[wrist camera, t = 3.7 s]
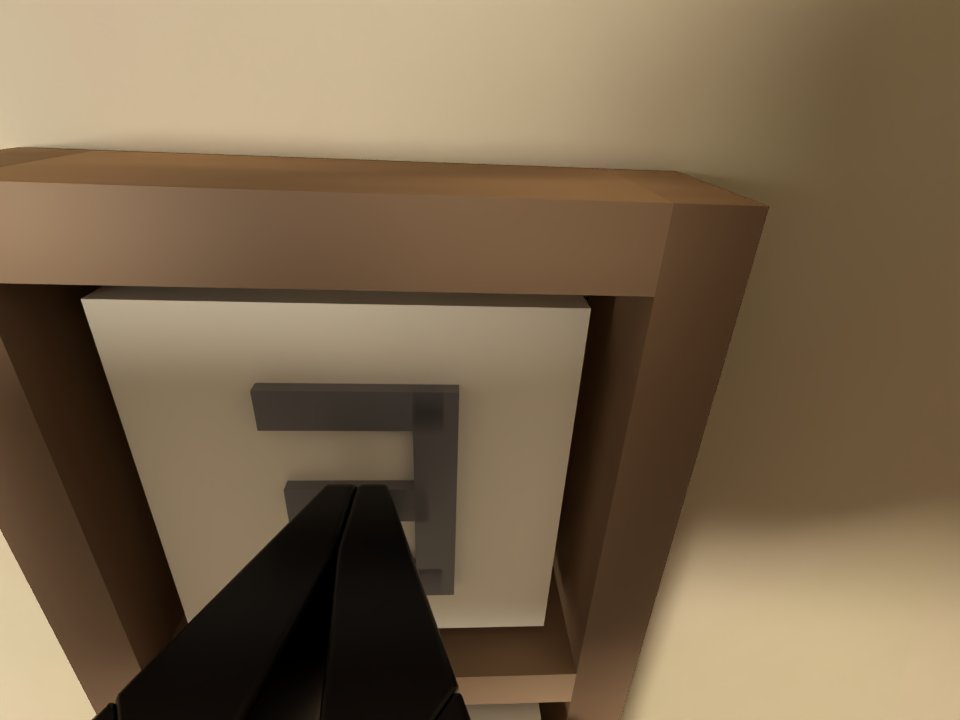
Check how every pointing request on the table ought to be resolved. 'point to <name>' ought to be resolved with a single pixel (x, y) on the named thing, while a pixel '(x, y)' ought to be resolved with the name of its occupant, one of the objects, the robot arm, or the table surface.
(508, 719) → the tile
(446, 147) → the table surface
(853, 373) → the table surface
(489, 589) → the tile
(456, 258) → the tile rack
